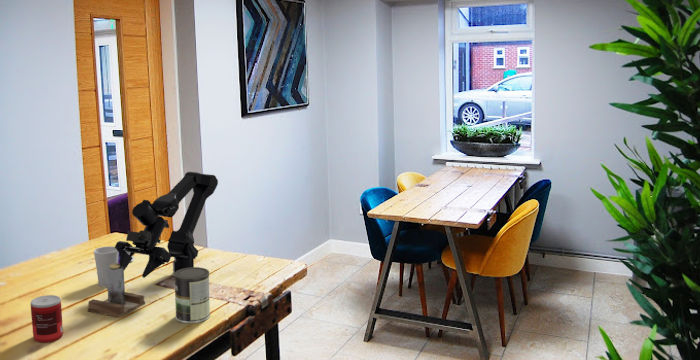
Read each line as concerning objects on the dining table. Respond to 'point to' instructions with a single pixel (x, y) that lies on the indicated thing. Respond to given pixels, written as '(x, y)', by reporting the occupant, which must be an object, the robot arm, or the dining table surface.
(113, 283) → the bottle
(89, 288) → the dining table surface
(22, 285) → the dining table surface
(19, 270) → the dining table surface
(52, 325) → the canned food
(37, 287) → the dining table surface
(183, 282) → the coffee can
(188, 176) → the robot arm
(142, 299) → the cradle
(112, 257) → the cup
